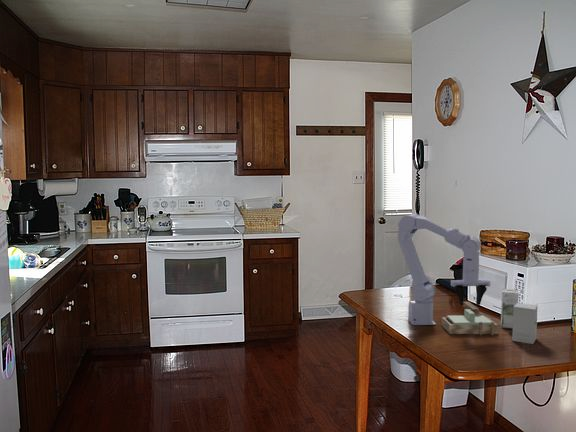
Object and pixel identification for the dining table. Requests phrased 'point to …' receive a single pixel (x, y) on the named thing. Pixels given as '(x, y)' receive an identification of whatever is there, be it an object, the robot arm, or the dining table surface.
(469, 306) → the light brown wooden bar
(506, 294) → the syrup box
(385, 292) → the dining table surface
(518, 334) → the supplement box
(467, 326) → the tan wooden frame
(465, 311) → the lid
